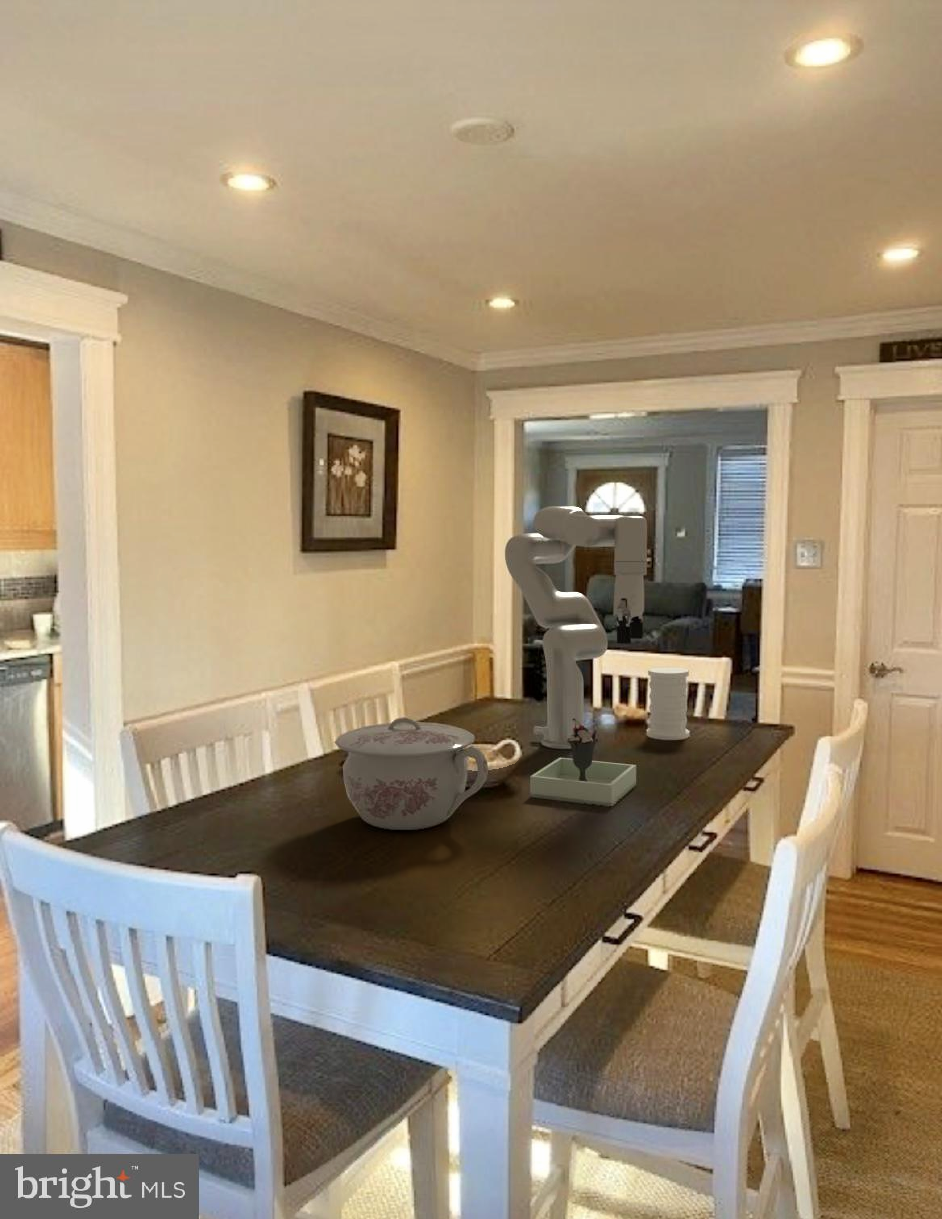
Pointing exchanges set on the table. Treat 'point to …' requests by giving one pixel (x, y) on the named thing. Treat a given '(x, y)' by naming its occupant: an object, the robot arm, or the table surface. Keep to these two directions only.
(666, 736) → the decorative container
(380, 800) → the chamber pot
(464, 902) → the table surface
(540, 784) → the box
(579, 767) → the sundae
